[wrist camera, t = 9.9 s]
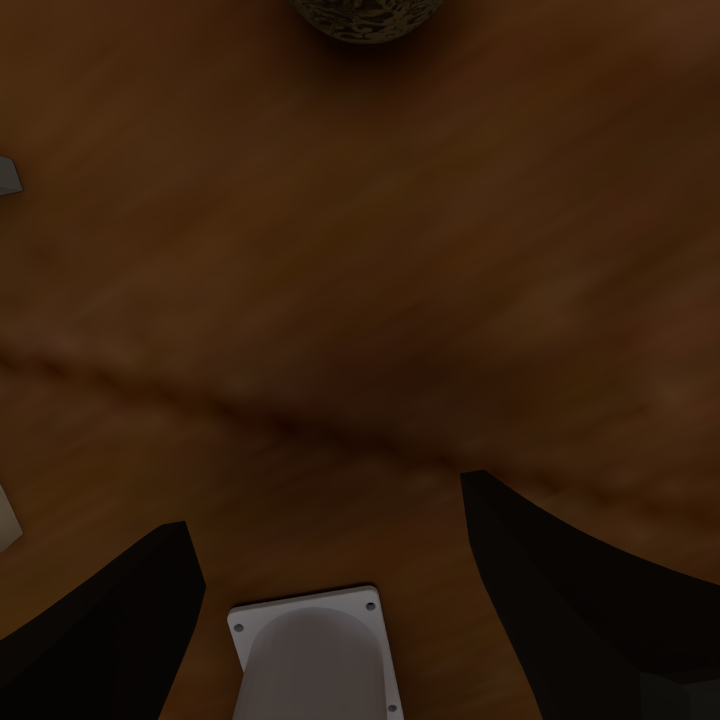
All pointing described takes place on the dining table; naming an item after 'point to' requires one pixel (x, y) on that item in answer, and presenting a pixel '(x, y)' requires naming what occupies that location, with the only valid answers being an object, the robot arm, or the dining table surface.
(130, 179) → the dining table surface
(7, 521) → the rail
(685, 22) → the dining table surface
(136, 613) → the robot arm
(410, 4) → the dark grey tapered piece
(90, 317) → the dining table surface
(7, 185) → the backboard
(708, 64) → the dining table surface
